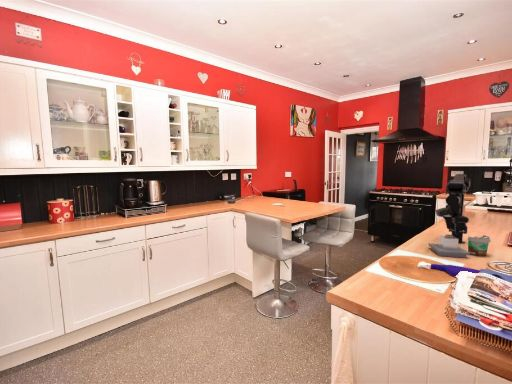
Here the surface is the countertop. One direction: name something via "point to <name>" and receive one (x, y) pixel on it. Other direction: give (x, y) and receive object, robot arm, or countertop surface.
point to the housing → (448, 242)
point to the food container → (478, 245)
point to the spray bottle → (447, 268)
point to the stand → (448, 251)
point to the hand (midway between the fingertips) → (452, 231)
